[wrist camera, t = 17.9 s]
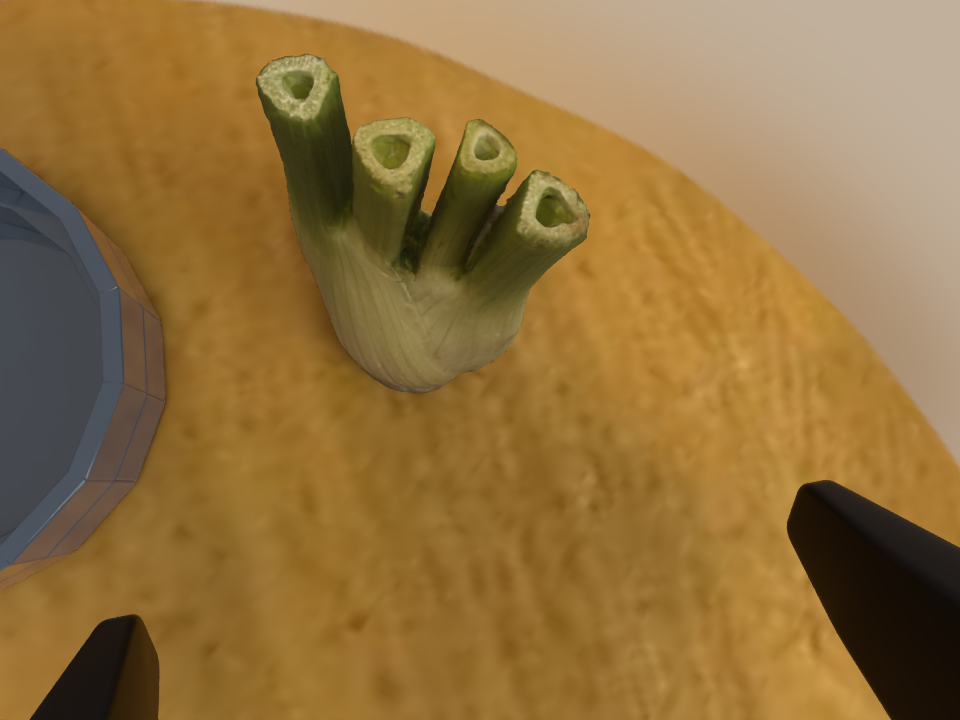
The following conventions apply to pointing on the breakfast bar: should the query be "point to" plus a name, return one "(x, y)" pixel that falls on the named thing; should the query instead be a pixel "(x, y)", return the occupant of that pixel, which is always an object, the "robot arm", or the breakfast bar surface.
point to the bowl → (67, 374)
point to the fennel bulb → (412, 231)
